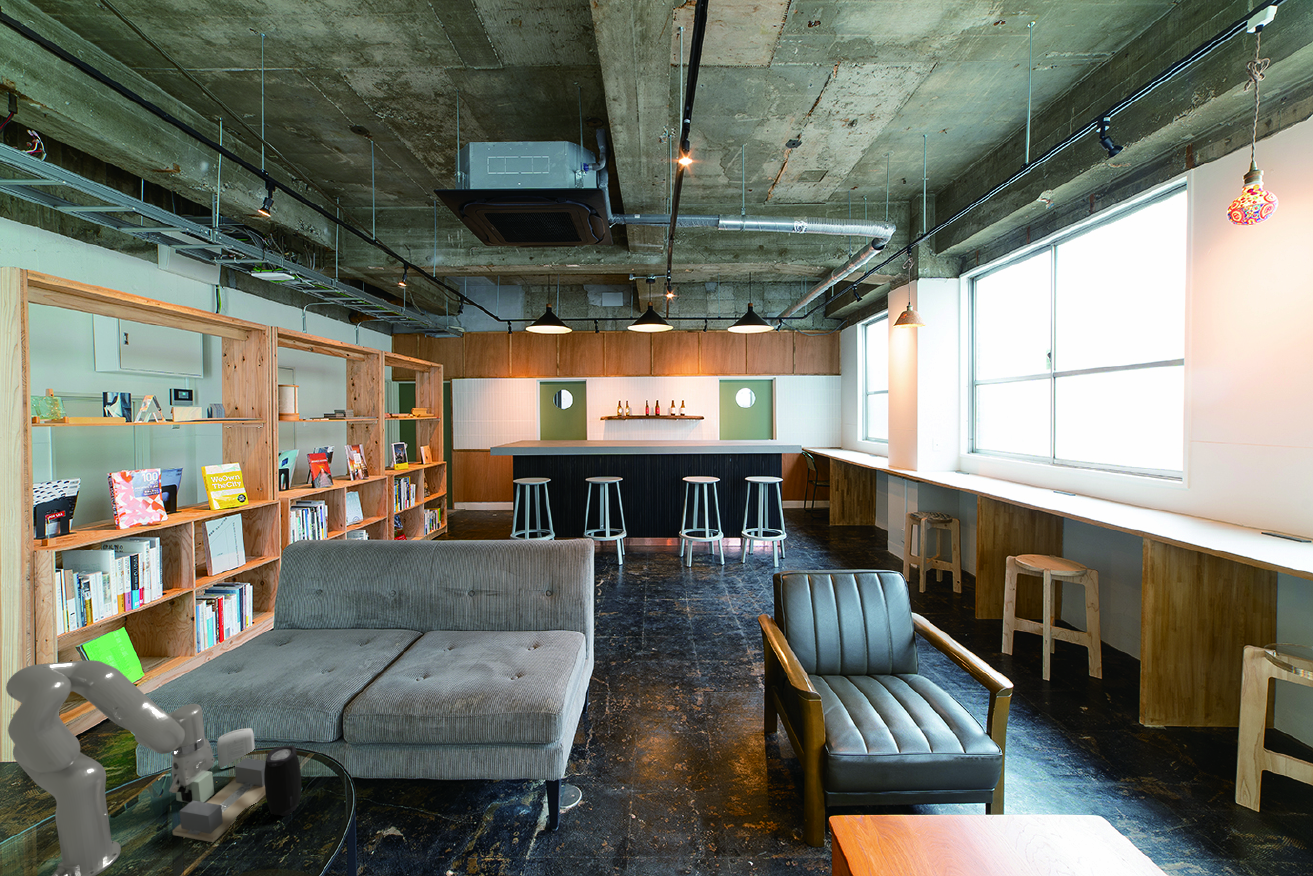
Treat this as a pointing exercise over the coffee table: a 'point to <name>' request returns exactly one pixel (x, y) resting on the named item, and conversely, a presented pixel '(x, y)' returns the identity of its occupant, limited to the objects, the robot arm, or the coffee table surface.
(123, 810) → the coffee table surface
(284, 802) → the portable speaker
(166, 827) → the coffee table surface
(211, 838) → the rail board
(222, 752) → the photo printer
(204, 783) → the block
